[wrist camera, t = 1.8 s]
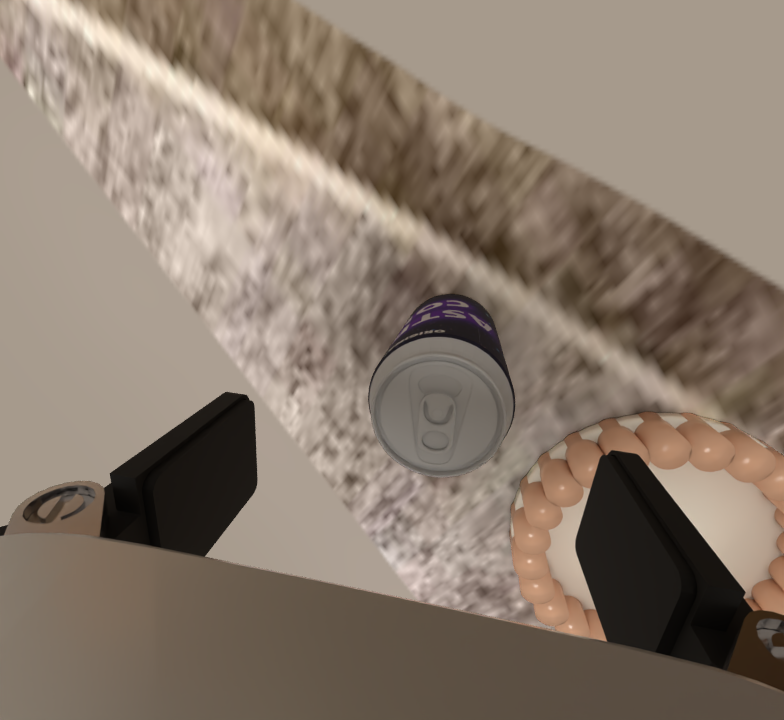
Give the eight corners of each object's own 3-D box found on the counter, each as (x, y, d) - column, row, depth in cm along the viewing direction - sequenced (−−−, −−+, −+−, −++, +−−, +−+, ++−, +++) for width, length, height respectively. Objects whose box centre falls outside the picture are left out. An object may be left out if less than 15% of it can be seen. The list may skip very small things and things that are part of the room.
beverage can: (501, 295, 24) (531, 351, 13) (490, 381, 26) (507, 497, 15) (409, 289, 25) (361, 335, 14) (404, 373, 27) (358, 475, 15)
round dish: (861, 437, 23) (916, 466, 20) (744, 657, 29) (774, 703, 26) (536, 391, 25) (544, 411, 23) (490, 601, 31) (492, 637, 28)
